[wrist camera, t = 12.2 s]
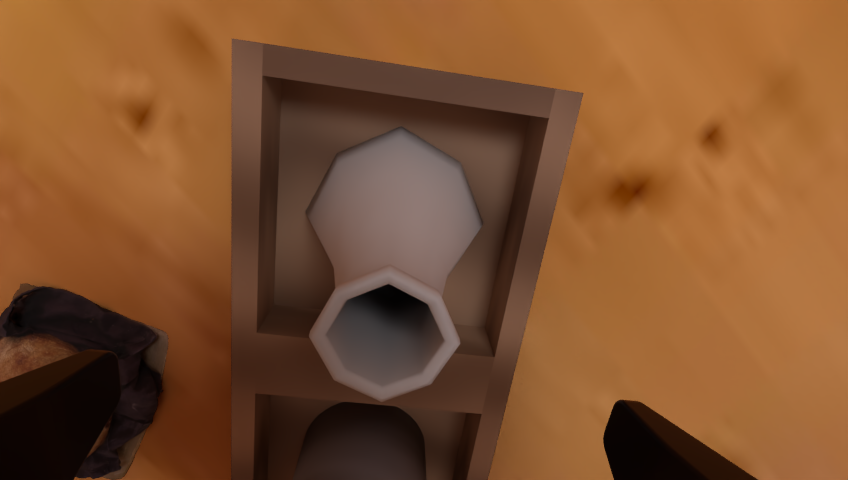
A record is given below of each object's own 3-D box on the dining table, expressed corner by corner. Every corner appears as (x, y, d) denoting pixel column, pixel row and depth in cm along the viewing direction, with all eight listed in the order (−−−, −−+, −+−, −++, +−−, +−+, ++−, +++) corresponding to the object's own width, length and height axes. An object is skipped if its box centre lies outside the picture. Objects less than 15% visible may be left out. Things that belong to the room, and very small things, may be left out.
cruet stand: (455, 521, 27) (481, 758, 17) (253, 507, 26) (165, 749, 16) (552, 91, 19) (699, 98, 9) (264, 47, 18) (103, 4, 8)
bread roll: (137, 474, 26) (95, 536, 22) (-20, 425, 24) (-91, 484, 21) (192, 330, 23) (153, 375, 19) (16, 263, 21) (-61, 300, 18)
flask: (276, 207, 19) (148, 329, 10) (403, 92, 18) (399, 101, 8) (389, 319, 21) (375, 510, 12) (511, 223, 20) (607, 352, 10)
